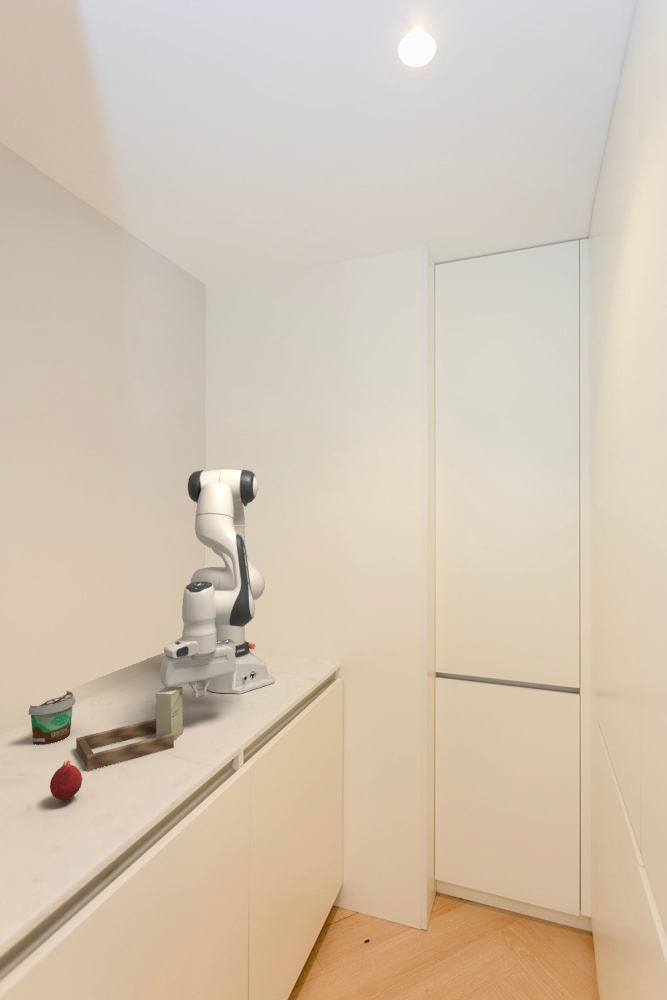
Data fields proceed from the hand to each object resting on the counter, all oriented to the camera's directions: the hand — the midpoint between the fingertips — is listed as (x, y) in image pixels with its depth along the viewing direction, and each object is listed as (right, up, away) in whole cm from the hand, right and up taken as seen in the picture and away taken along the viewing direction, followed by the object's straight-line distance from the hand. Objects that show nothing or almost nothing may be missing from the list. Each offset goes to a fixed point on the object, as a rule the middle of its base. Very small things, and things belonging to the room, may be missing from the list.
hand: (199, 696), depth 142 cm
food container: (-35, -9, -5) cm, 37 cm away
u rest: (-15, -9, -11) cm, 21 cm away
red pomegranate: (-18, -9, -35) cm, 40 cm away
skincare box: (-7, -9, -5) cm, 12 cm away
